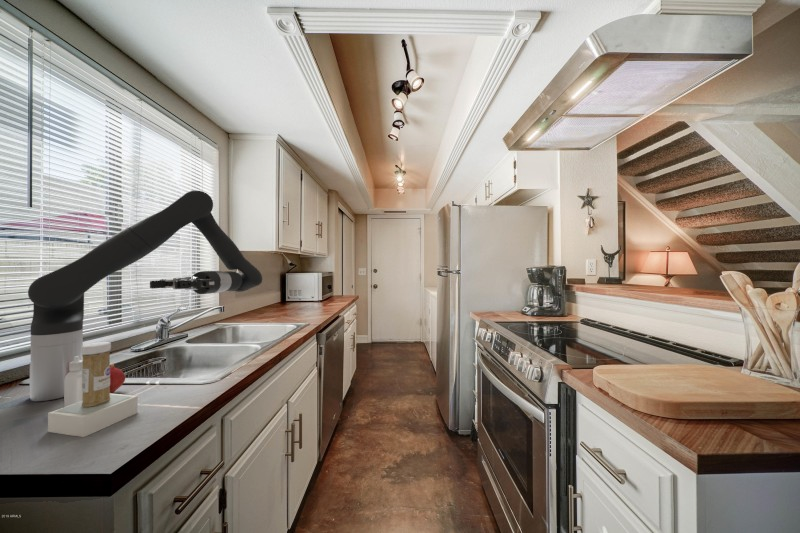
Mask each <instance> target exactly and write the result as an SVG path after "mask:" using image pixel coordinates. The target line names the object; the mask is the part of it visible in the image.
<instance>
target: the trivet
mask: <svg viewBox="0 0 800 533" xmlns="http://www.w3.org/2000/svg"><path fill="white" fill-rule="evenodd" d="M138 398H139V397H138V395H130V394H120V393H110V400H109V401H107V402H105V403H103V404H100V405H97V406H92V407H83V406H82V402H83V401H80V402H78V403H75V404H72V405H69V406H66V407H64V406H63V407H61V408H58V409H56V410H53V411H49V412H48V413H47V432H48V433H53V434H59V435H67V436H75V437H79V438H80V437H82V438H86V437H87V436H89V435H92V434H93V433H94V434H95V433H96V432H98V431H99V432H100V431H101V430H103V429H105V428H107V427H110V426H112V425H113V424H114V425H115V424H116V423H118V422H120V421H123V420H125V419H128V418H129V417H132V416H134V415H136V414H138V412H139V411H138V410H139V408H138V407H139V404H138V403H139V399H138Z"/></svg>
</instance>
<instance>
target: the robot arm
mask: <svg viewBox="0 0 800 533" xmlns="http://www.w3.org/2000/svg"><path fill="white" fill-rule="evenodd" d="M213 209H214V200H213V199H212V197H211V196H210V195H209V194H208V193H207V192H205V191H202V190H195V189H194V190H190V191H186V192H184V194H182V195H181V196H180V197H179V198H177V199H176V200H175V201H173V202H172V203H171V204H169V205H168V206H166V207H165V208H163V209H162V210H160V211H158V212H156V213H153V214H151V215H148V216H147V217H145V218H143V219H140V220H138V221H136V222H135V223H133V224H131V225H129V226H127V227H125V228H123V229H122V230H119V232H117V233H115V234H113V235H112V236H110V237H109V238H107V239H106V240H104V241H103V242H101V243H100V244H98V245H97V246H96V247H94V248H93V249H91V250H90V251H89V252H88V253H86V254H85V255H83V256H81V257H80V258H78V259H77V260H74V261H72V262H71V263H68V264H66V265H64V266H62V267H59V268H58V269H56V270H54V271H51V272H50V273H47V274H45V275H42V276H39V277H38V278H37V279H35V280H33V282H31V284H30V285H29V287H28V290H27V295H28V298H29V300H30V301H31V303H33V309H32V310H33V312H32V313H33V315H32V320H31V324H30V363H29V398H30V400H29V401H32V402H45V401H52V400H56V399H61V398H64V379H65V376H66V375H67V374H68V373H69V372H70V371H69V363H70V362H72V361H73V360H74V357H75V356H79V359H80V360H83V356H82V355H83V354H81V348H82V346H83V345H84V340H83V339H84V338H83V336H84V334H83V332H84V331H83V328H84V327H83V326H84V318H85V316H84V314H85V313H84V312H85V310H84V309H85V293H86V292H87V291H88V290H90V289H91V288H92V287H93V286H95V285H96V284H98V283H99V282H101V281H102V280H103V279H105V278H107V277H108V276H110V275H112V274H114V273H117V272H118V271H120V270H122V269H125V268H126V267H128V266H130V265H132V264H134V263H136V262H137V261H140V260H141V259H143V258H144V257H146V256H147V255H149V254H150V253H152V252H153V251H155V250H156V249H158V248H159V247H160V246H162V245H163V244H165V243H166V242H167V241H168V240H169V239H171V237H173V236H174V235H175V234H176V233H177V232H178V231H180V230H181V229H182V228H184V227H186V226H187V225H189V224H191V223H192V224H193V225H194V226H195V227H196V229H198V231H199V232H200V233H201V234H202V235H203V237H204V238H205V239H206V240H207V242H208V243H209V244H210V246H211V248H212V249H213V250H214V252H215V253H216V255H217V256H218V258H219V259H220V261H221V262H222V263H223V264H224V266H225V268H226V269H228V271H227V270H226V271H222V270H200V271H199V270H198V271H196V272H195V273H194V274H193V275H192V276H185V277H173V278H170V279H164V278H161V279H159V280H150V281H149V288H150V289H152V290H153V289H173V290H187V291H188V290H192V291H194V293H195V294H197V295H209V294H218V293H223V292H230V291H231V292H239V293H240V292H241V293H242V292H245V291H249V290H250V289H253V288H255V287H257V286H259V285H261V284H262V282H263V275H262V273H261V271H260V270H259V269H258V268H257V267H256V266H254V265H253V263H251V262H250V261H249V260H248V259H247V258H245V257H244V255H243V253H242V252H241V251H240V249H239V247H238V246H237V245H236V243H235V242H234V241H233V240H232V239H231V238H230V236H229V235H227V234H226V232H224V231H223V229H222V228H221V227H220V226H219V224H218V223H217V221H216V220H215V218H214V216H213V214H212V211H213ZM235 270H238V271H240V273H238V272H237V271H235Z"/></svg>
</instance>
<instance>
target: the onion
mask: <svg viewBox="0 0 800 533" xmlns="http://www.w3.org/2000/svg"><path fill="white" fill-rule="evenodd" d="M125 381H126V374H125V373H124V372H123V370H122V369H120V368H117V367H115V364H114V363H113V364H110V393H113V394H115V392H116V391H117V390H118V389H119V388H120V387H122V386H123V384H125Z"/></svg>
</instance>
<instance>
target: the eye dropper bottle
mask: <svg viewBox="0 0 800 533" xmlns="http://www.w3.org/2000/svg"><path fill="white" fill-rule="evenodd" d="M82 363H83V360H80V359H79V356H75V357H74V360H73V361H72V362H70V363H69V371H70V372H69V373H68V374H67V375H66V376H65V379H64V397H63V398H64V400H63V407H66V406H69V405H72V404H75V403H78V402H80V401H83V392H82V367H83V364H82Z"/></svg>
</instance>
